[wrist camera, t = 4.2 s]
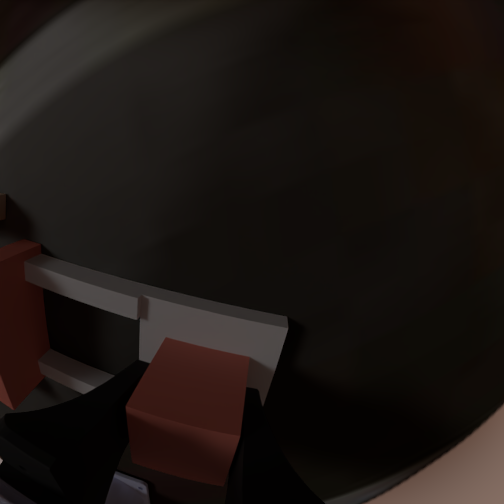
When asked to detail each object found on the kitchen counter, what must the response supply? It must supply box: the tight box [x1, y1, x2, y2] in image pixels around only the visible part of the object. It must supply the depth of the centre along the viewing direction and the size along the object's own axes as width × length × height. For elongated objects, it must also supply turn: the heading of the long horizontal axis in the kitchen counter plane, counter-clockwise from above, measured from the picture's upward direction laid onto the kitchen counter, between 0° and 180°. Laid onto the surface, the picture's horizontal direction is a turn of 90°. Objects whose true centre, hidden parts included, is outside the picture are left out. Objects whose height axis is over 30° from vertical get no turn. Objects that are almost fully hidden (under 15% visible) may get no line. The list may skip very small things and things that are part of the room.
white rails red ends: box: [0, 239, 288, 486], centre depth 11 cm, size 8×14×5 cm, turn 78°
